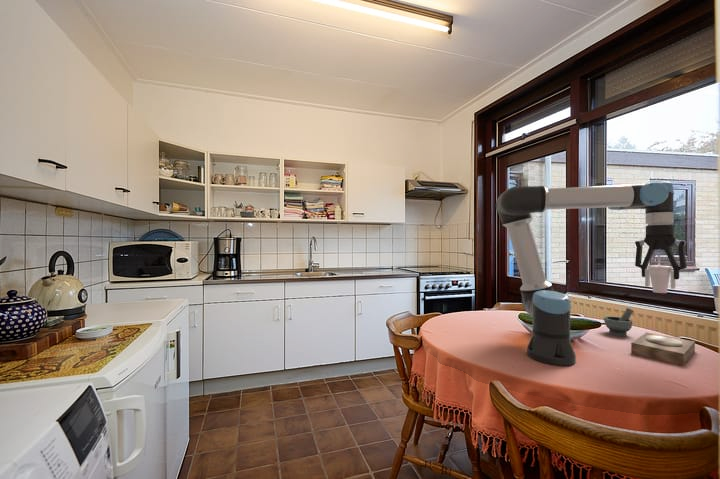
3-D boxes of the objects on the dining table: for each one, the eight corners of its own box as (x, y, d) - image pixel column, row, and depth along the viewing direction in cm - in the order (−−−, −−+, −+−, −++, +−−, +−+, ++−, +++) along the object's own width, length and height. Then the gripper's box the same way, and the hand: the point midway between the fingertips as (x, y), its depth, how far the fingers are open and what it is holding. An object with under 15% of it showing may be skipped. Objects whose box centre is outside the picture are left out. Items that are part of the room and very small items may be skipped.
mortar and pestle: (613, 337, 138) (614, 310, 138) (599, 330, 147) (599, 305, 147) (641, 338, 137) (641, 310, 137) (624, 331, 146) (625, 305, 146)
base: (631, 353, 119) (631, 340, 119) (646, 341, 132) (646, 330, 132) (683, 365, 107) (684, 350, 107) (694, 351, 120) (694, 338, 120)
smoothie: (669, 291, 116) (669, 254, 116) (674, 294, 111) (673, 254, 111) (646, 290, 120) (645, 253, 120) (650, 292, 115) (649, 254, 115)
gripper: (699, 223, 110) (700, 289, 110) (629, 225, 125) (630, 283, 125) (694, 223, 105) (695, 291, 105) (623, 225, 121) (623, 285, 121)
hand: (660, 287), depth 115 cm, fingers closed on smoothie, 6 cm apart
